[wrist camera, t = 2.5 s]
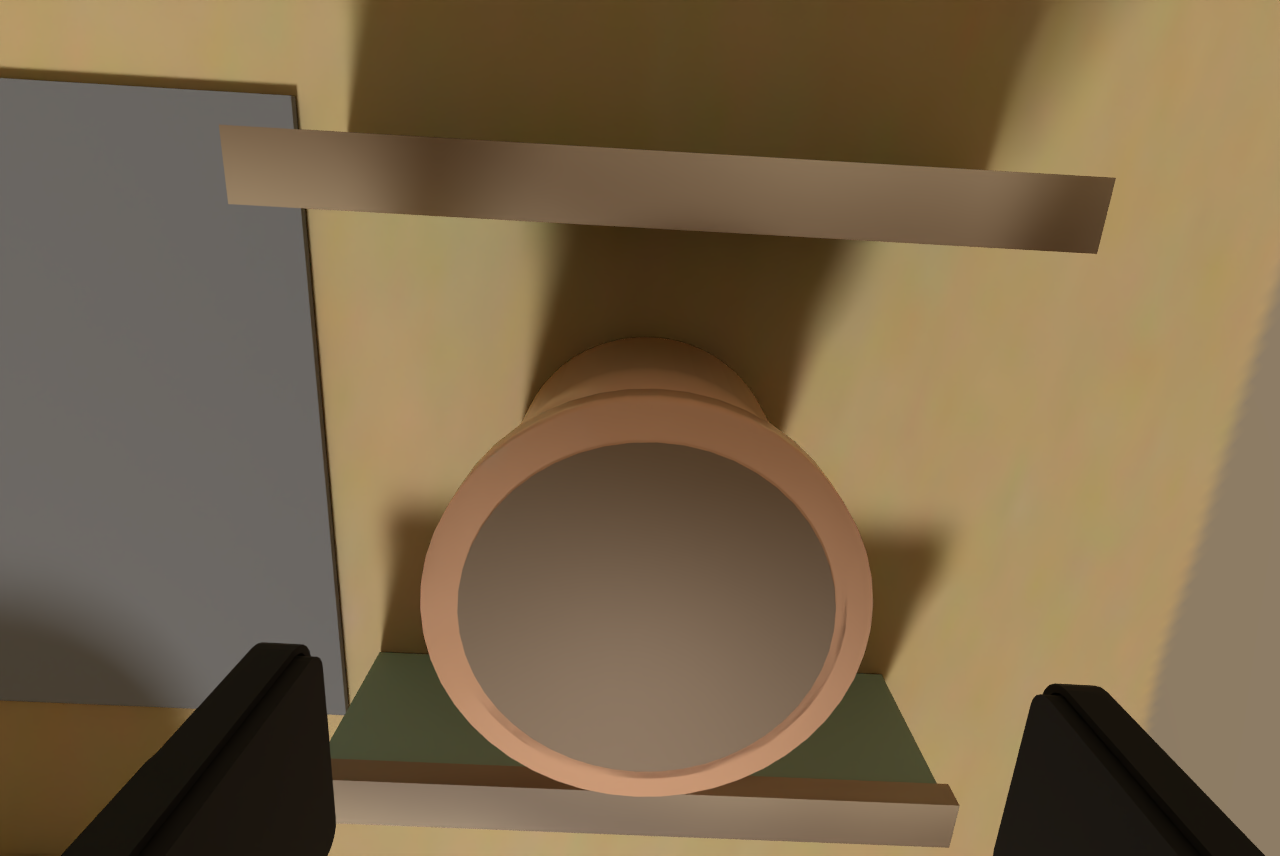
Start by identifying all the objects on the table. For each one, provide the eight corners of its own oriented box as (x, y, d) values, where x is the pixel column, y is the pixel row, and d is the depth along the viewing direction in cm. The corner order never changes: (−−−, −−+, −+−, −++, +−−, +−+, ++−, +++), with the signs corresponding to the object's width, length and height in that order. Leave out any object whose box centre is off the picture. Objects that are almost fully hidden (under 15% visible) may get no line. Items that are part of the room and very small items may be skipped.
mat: (-277, 62, 15) (-288, 60, 15) (295, 97, 15) (290, 95, 15) (-81, 691, 20) (-87, 696, 20) (348, 710, 20) (345, 715, 20)
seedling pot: (500, 312, 17) (407, 391, 10) (804, 328, 17) (910, 417, 10) (503, 580, 19) (428, 789, 12) (771, 593, 19) (840, 808, 12)
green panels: (336, 144, 16) (218, 124, 11) (984, 182, 16) (1115, 178, 12) (374, 684, 20) (301, 822, 16) (882, 707, 20) (948, 847, 16)
